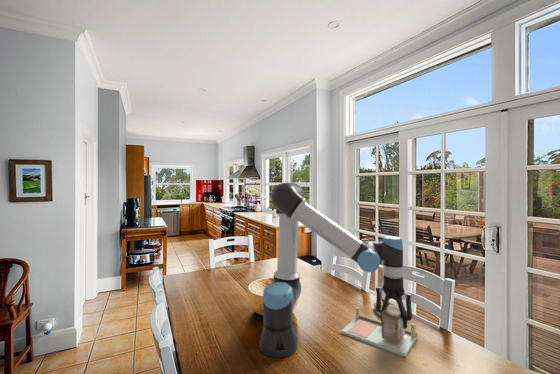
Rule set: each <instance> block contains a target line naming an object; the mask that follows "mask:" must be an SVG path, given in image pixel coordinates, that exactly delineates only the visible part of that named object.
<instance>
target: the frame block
mask: <svg viewBox="0 0 560 374" xmlns="http://www.w3.org/2000/svg"><path fill="white" fill-rule="evenodd" d="M381 315H382V338H383V339H386V340H389V341H392V342H395V343H398V342H399V341H400V339H401V338H402V337H401V319H402V316H401V313H400V310H399V307H398V305H395V304H391V303H389V304H388V305H387V308H386V309H385V310H384V311H383V312H382V313H381Z"/></svg>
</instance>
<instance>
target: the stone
mask: <svg viewBox="0 0 560 374" xmlns="http://www.w3.org/2000/svg"><path fill="white" fill-rule="evenodd" d="M382 306H383V303H381V309H382ZM373 308H374V310H375V312H376V314H378V316H379V317H381V314H380V312H377V311H376V302H375V303H373Z"/></svg>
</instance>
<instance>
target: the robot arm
mask: <svg viewBox="0 0 560 374" xmlns="http://www.w3.org/2000/svg"><path fill="white" fill-rule="evenodd" d="M270 201H271V204H272V206H273V207H274V208H275V214H276V215H277V216H278V235H277V237H278V242H277V243H278V245H277V246H278V247H277V264H276V265H277V269H276V271H275V272H274V273H273V282H272V283H270V284H267V285H266V286H265V287H264V288H263V292H262V293H263V294H262V311H263V313H262V314H263V316H262V317H263V328H262V331H261V334H260V338H259V342H258V343H259V344H258V345H259V350H260V352H261V351H262V352H263V353H262V352H261V353H262V354H264V355H265V356H268V357H271V358H285V357H288V356H291V355H293V354H294V353H295V352H296V351H297V350H298V347H299V345H298V344H299V343H298V338H297V335H296V333H295V328H294V322H293V321H294V320H293V319H294V317H293V316H294V315H293V314H294V307H295V305H296V303H297V301H298V299H299V298H300V296H301V292H302V284H301V279H300V278H301V277H300V273H299V272H298V271H297V268H298V265H297V264H298V242H299V240H298V238H299V223H301V224H302V225H304V226H305V227H306V228H308V229H309V230H311V231H312V232H313V233H314V234H316V235H317V236H318V237H320V238H321V239H323V240H325V241H326V242H327V243H329V244H330V245H331V246H333V247H334V248H336V249H337V250H338V251H340V252H341V253H343V254H344V255H345V256H346V257H348V258H350V259H351V260H353V261H354V262H355V264H356V263H357V266H358V267H359V268H360V269H361V270H362V271H363V272H366V273H374V272H375V271H377V270H378V269H379V267H380V264H381V261H382V274H383V277H382V283H383V285H382V286H377V287H376V288H375V292H376V302H375V303H376V310H375V312H376V311H377V312H380V314H381V313H382V312H383V311H384V310H385V309H386V308H387V307H388V306H389V303H390V300H394V301H396V303H397V306H398V307H399V310H400V313H401V316H402V319H401V337H402V338H403V337H404V335H405V329H408V321H409V322H411V321H412V319H413V309H412V297H413V293H412V292H411V293H410V292H409V293H408V292H406V291H405V289H404V277H403V276H404V246H403V245H404V244H403V239H402V238H401V237H400V236H395V235H394V236H393V235H389V236H387V235H386V236H382V239H381V240H380V241H374V240H373V241H370V240H361V239H359V238H357V237H356V236H354V235H353V234H352V233H350V232H349V231H348V230H346V229H344V228H343V227H342V226H341V225H339V224H337V223H336V222H335V221H333V220H332V219H330V218H329V217H327V216H326V215H325V214H323V213H322V212H320V211H319V210H317V209H316V208H314V207H313V206H311V204H309V203H308V202H307V199H306V198H305V191H304V189H302V187H301V185H298V184H297V183H295V182H281V183H278V184H276V186H274V187H273V189H272V191H271V193H270ZM383 292H384V294H385V297H384V300H383V299H382V296H383V295H382V293H383ZM403 296H404V299H405V305H404V302H403ZM382 300H383V303H382ZM381 304H382V305H383V306H382V309H381ZM405 307H406V308H405ZM377 312H376V313H377ZM380 321H381V322H382V315H381V316H380Z"/></svg>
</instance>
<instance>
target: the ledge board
mask: <svg viewBox="0 0 560 374" xmlns="http://www.w3.org/2000/svg"><path fill="white" fill-rule="evenodd" d="M341 334H343V335H345V336H349V337H351V338H353V339H355V340H358V341H360V342H361V341H362V342H364V343H366V344H369V345H372V346H373V347H374V346H375V347H377V348H380V349H383V350H386V351H388V352H391V353H393V354H397V355H398V356H401V357H404V358H407V356H408V354H409V353H410V351H411V349H412V348H413V346H414V344H415V343H416V341H417V340H418V332H417V331H416V324H415V323H412V322H411V324H410V329H408V328H406V329H405V335H404V337H403V338H401V339H400V341H399V342H398V343H395V342H392V341H389V340H386V339H383V338H382V322H381V320H379V319H376V318H375V319H374V318H373V317H368V316H366V315H362V314H360V307H358V306H356V307H355V318H353V320H352V321H350V322H349V323H348V324H347V325H346V326H345V327H344V328H342V329H341Z"/></svg>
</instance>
